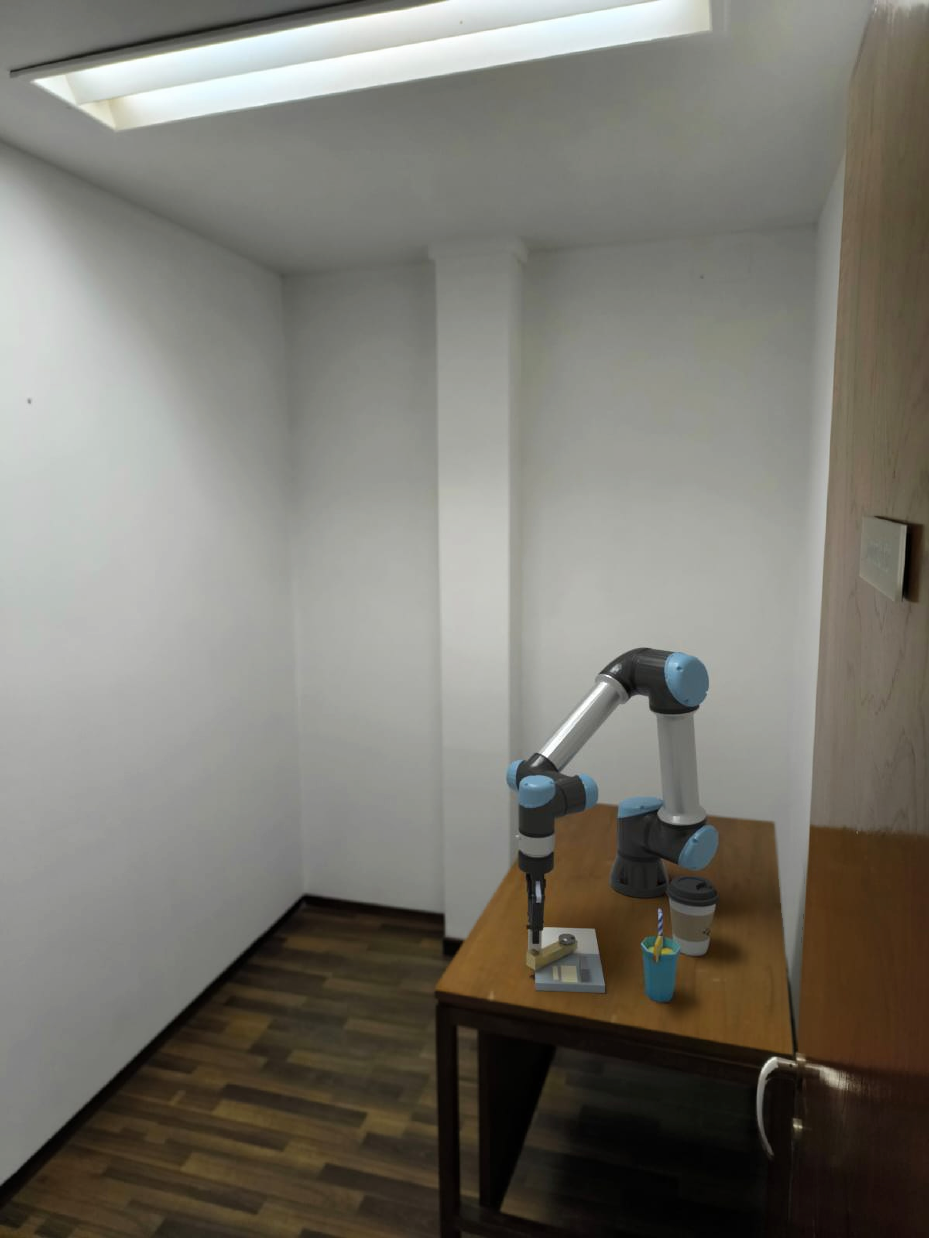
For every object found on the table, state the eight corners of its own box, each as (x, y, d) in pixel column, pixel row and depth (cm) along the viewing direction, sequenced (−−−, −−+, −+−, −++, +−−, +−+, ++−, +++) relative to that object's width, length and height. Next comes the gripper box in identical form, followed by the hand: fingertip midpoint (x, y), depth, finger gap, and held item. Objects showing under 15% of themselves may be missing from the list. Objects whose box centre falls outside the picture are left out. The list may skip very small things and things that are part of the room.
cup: (639, 971, 172) (641, 904, 170) (677, 975, 170) (679, 907, 169) (639, 1009, 158) (641, 937, 157) (680, 1014, 157) (683, 941, 155)
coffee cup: (710, 966, 174) (713, 899, 172) (658, 952, 179) (660, 888, 178) (722, 942, 184) (724, 879, 182) (672, 930, 189) (674, 868, 187)
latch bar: (566, 943, 179) (567, 930, 178) (579, 950, 176) (579, 936, 176) (524, 964, 170) (524, 950, 170) (536, 971, 168) (536, 957, 167)
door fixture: (594, 935, 187) (594, 917, 186) (604, 992, 164) (605, 972, 164) (533, 933, 188) (533, 915, 187) (535, 990, 165) (535, 969, 164)
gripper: (515, 837, 176) (514, 938, 180) (520, 863, 164) (519, 971, 167) (550, 837, 177) (548, 938, 180) (558, 863, 164) (556, 971, 167)
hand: (534, 954), depth 174 cm, fingers closed
